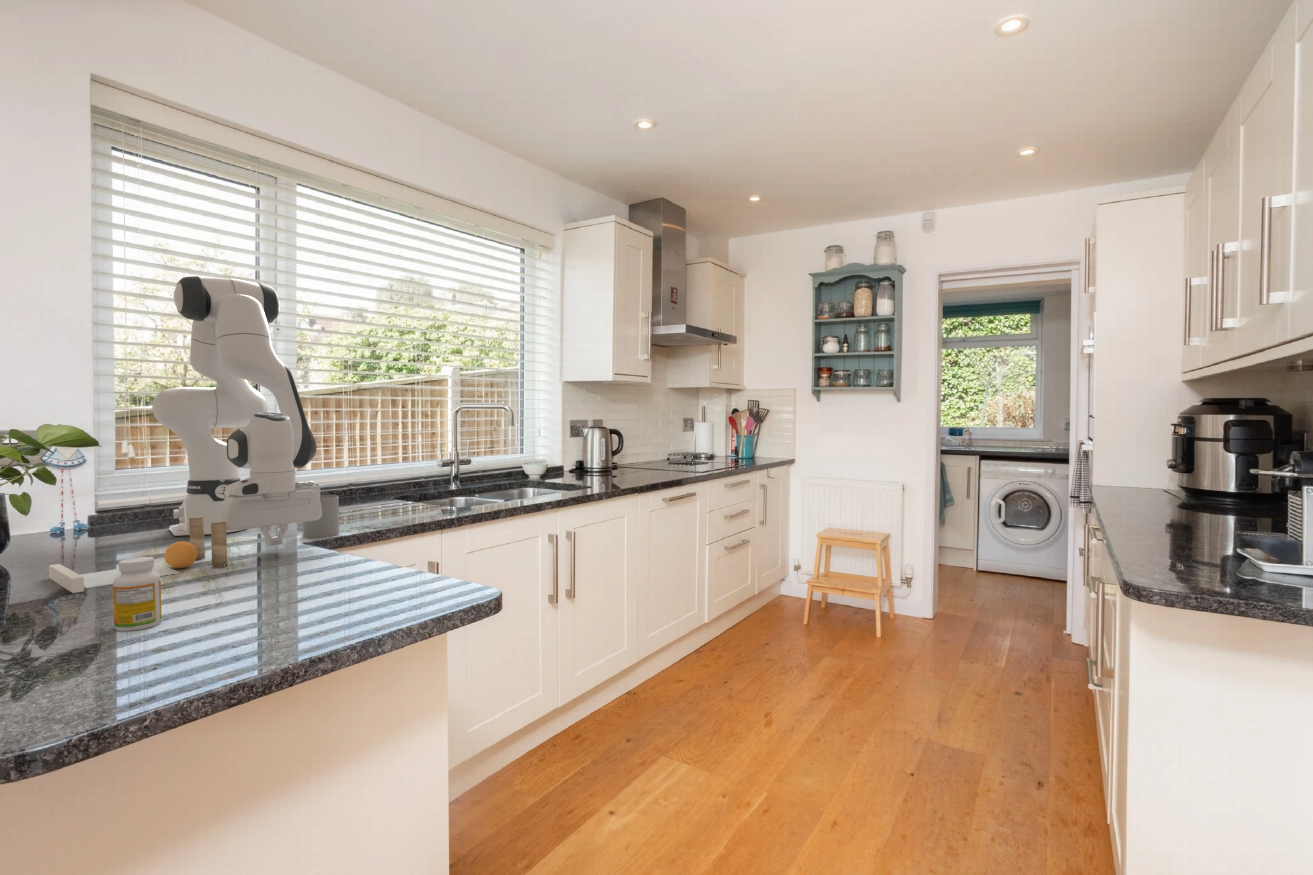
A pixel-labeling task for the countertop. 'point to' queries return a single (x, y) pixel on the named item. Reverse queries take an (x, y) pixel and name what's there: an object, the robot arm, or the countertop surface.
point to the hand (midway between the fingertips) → (274, 544)
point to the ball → (180, 554)
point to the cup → (324, 519)
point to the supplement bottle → (137, 595)
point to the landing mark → (109, 576)
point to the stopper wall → (66, 578)
